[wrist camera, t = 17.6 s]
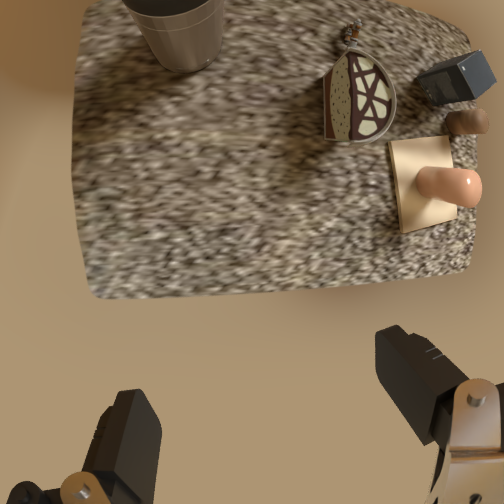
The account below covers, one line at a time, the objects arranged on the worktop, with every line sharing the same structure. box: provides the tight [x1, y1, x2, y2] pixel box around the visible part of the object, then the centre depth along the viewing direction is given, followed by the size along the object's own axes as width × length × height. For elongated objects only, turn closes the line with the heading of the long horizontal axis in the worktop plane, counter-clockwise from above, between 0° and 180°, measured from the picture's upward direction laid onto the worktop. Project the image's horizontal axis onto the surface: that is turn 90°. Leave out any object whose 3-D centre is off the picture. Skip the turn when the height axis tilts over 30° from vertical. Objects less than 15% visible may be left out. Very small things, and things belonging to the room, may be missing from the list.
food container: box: [323, 47, 396, 148], centre depth 34 cm, size 12×6×10 cm, turn 0°
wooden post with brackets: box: [344, 19, 362, 48], centre depth 35 cm, size 2×8×4 cm, turn 173°
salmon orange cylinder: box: [416, 166, 482, 208], centre depth 37 cm, size 5×5×10 cm
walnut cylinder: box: [446, 108, 489, 135], centre depth 37 cm, size 4×4×7 cm
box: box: [417, 50, 497, 106], centre depth 33 cm, size 8×6×11 cm
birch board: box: [388, 135, 457, 233], centre depth 42 cm, size 14×12×1 cm
